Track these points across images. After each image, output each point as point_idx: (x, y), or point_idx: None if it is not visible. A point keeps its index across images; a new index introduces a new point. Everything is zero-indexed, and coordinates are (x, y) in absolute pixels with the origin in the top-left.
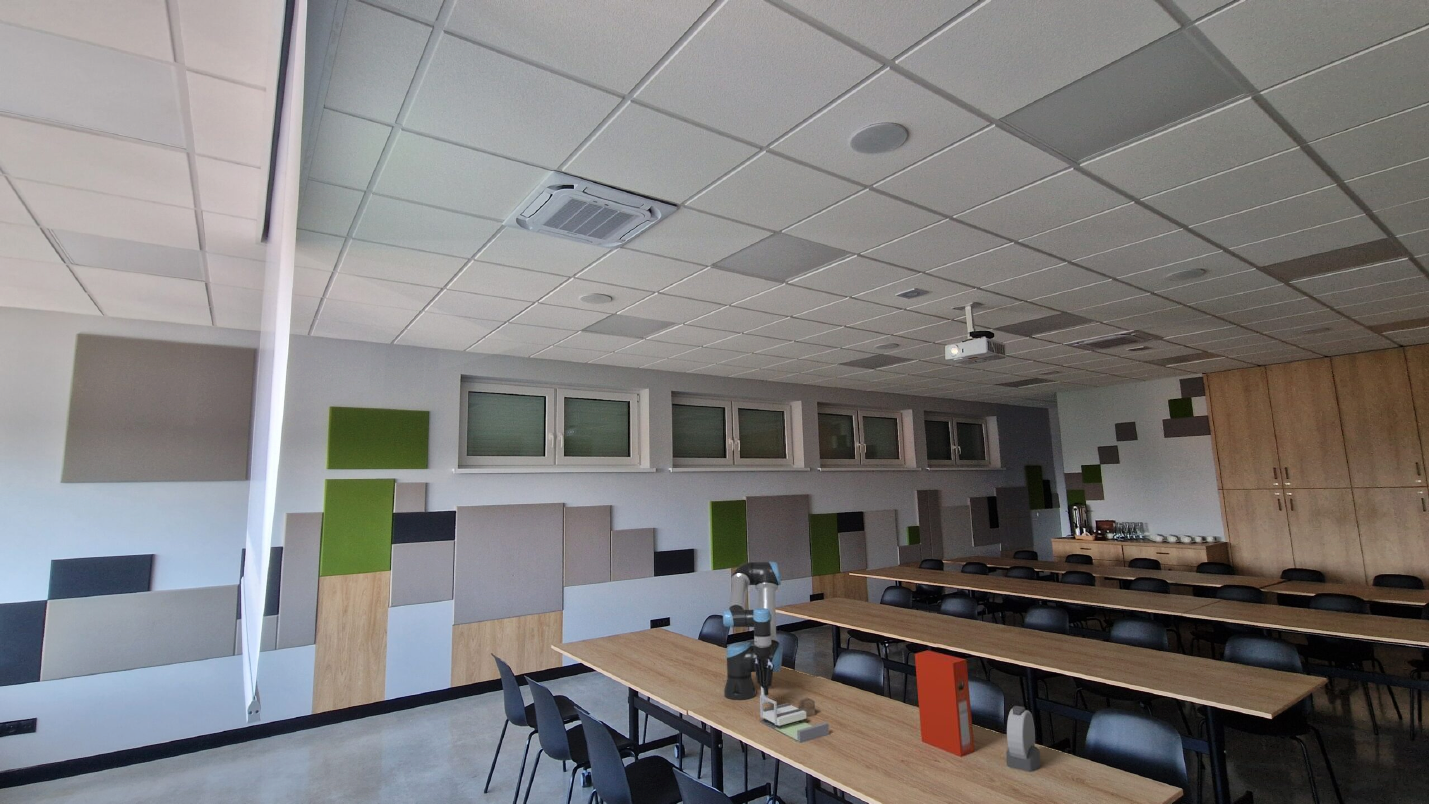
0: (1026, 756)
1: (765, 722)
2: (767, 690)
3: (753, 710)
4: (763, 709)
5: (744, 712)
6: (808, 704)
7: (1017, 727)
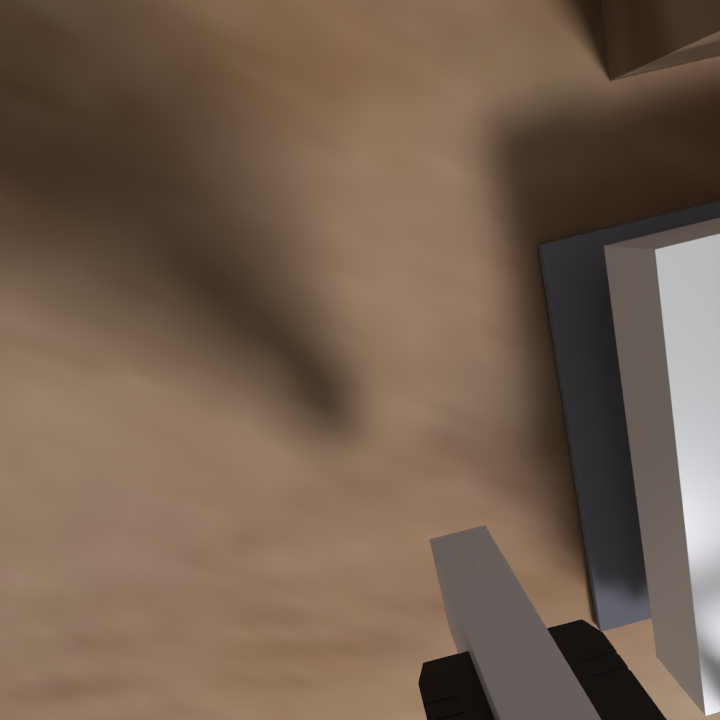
0: None
1: None
2: (640, 703)
3: (242, 586)
4: (710, 673)
5: (270, 696)
6: None
7: None
